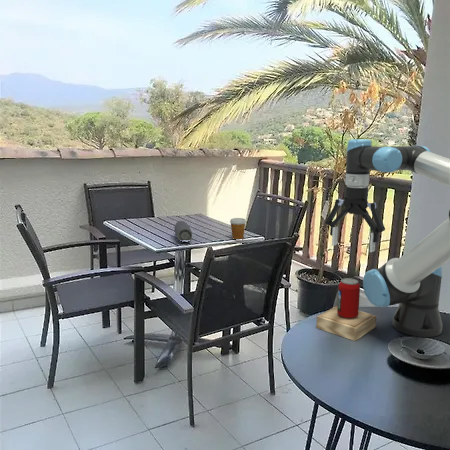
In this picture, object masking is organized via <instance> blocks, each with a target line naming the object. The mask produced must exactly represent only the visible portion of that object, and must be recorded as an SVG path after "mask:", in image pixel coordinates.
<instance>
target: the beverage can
mask: <svg viewBox="0 0 450 450" xmlns="http://www.w3.org/2000/svg"><path fill="white" fill-rule="evenodd" d="M337 290H338V291H337V305H336V306H337V313H338V314H339V315H340V316H341V317H343V318H348V319H351V318H354V317H356V316H358V311H360V310H359V308H360V298H361V296H360V294H361V293H360V292H361V285H360V283H359V280H357V279H355V278H352V277H349V278H348V277H347V278H346V277H344V278H341V280H340V282H339V283H338V287H337Z"/></svg>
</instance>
